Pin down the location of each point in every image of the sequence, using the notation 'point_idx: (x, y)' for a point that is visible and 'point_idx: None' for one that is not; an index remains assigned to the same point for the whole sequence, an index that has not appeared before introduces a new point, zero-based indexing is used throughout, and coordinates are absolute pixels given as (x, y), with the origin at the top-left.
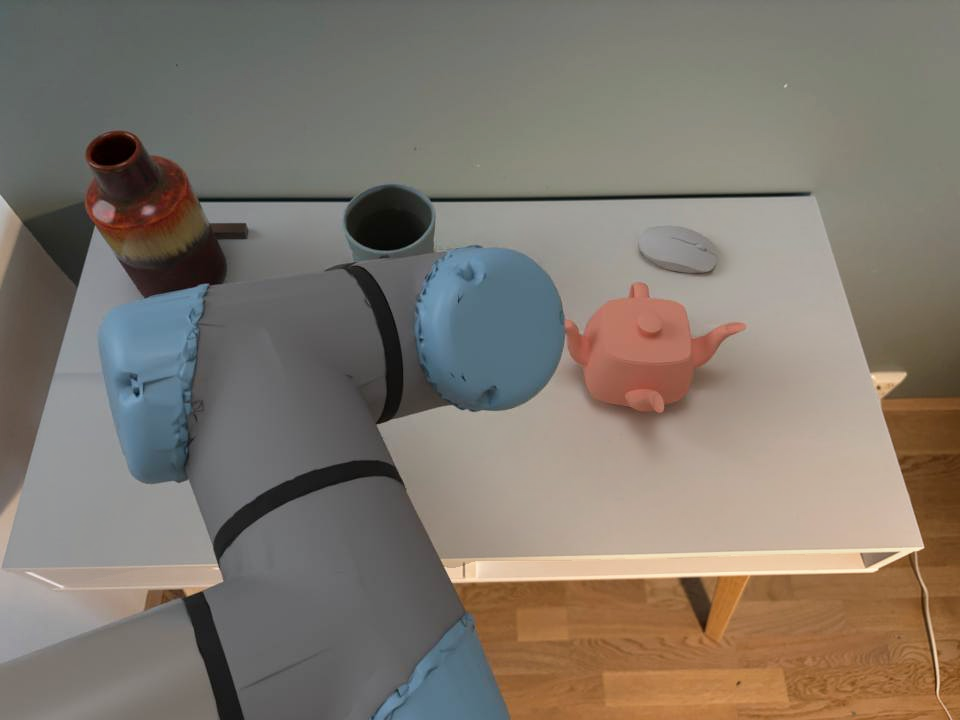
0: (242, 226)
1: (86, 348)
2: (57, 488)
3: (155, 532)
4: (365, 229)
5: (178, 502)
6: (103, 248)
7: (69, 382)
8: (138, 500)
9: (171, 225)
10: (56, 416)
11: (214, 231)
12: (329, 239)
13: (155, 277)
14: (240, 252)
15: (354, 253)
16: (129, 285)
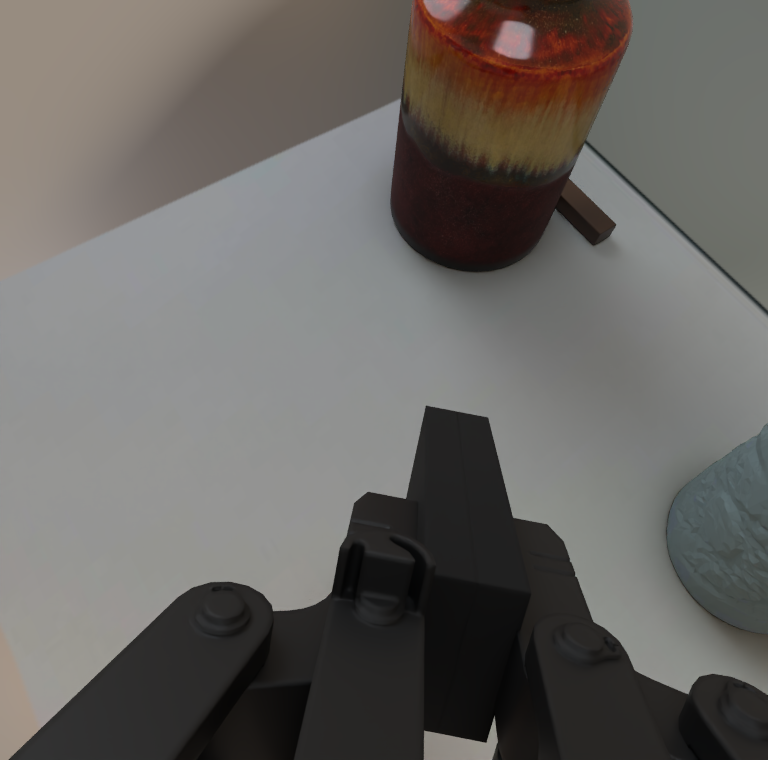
0: (607, 224)
1: (265, 183)
2: (25, 308)
3: (13, 505)
4: None
5: (85, 499)
6: None
7: (200, 202)
8: (59, 434)
9: (512, 100)
10: (139, 224)
11: (564, 196)
12: (705, 362)
13: (416, 170)
14: (565, 255)
15: (757, 456)
16: None
